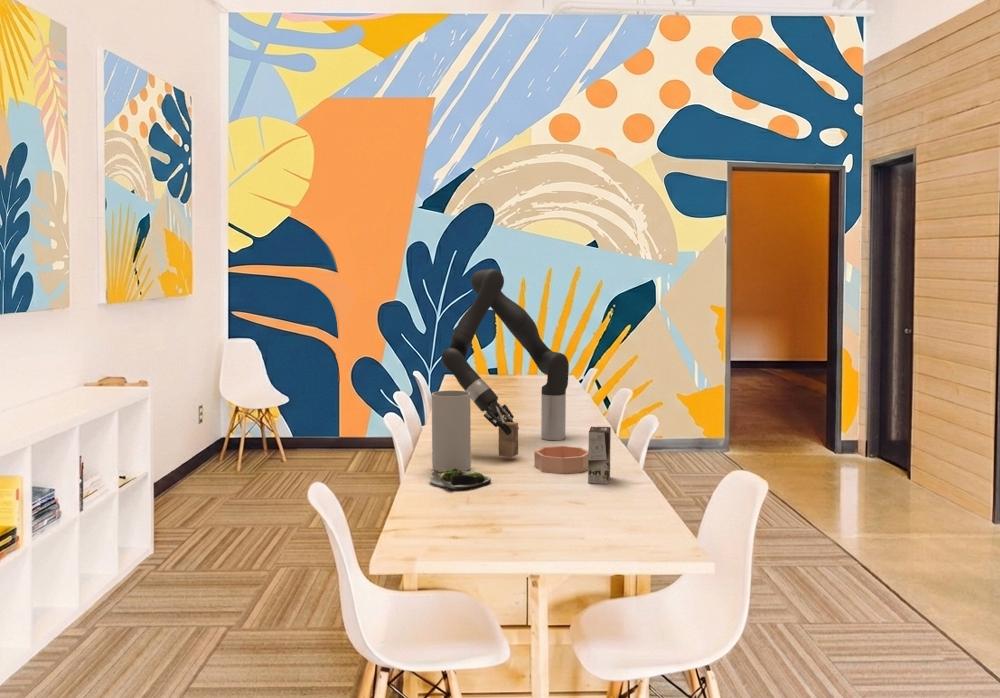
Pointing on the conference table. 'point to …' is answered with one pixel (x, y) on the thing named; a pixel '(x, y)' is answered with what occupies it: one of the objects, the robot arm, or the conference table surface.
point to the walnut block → (509, 441)
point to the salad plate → (459, 480)
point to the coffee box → (599, 455)
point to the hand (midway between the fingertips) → (513, 431)
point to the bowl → (561, 459)
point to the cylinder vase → (451, 430)
